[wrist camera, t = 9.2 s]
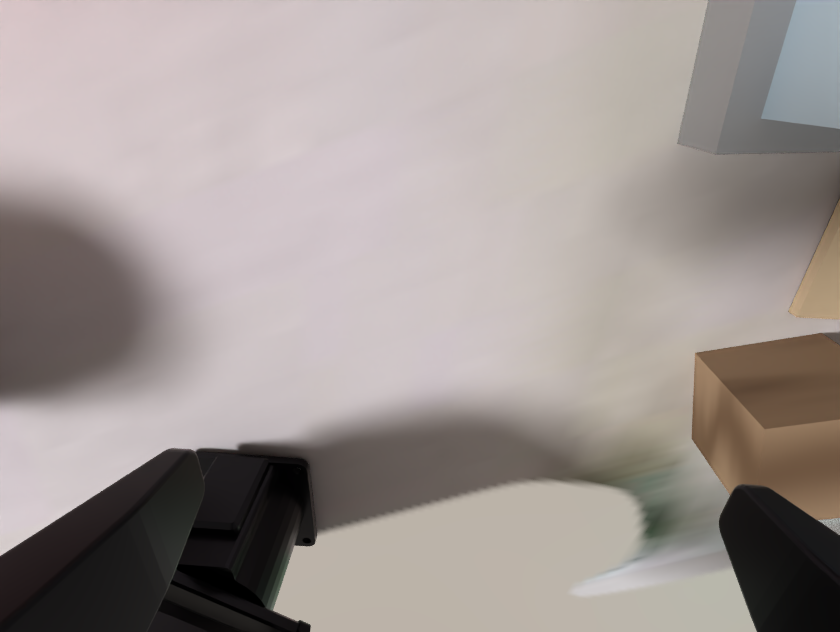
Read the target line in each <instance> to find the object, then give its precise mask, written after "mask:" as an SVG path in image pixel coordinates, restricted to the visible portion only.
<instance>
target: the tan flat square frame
mask: <svg viewBox="0 0 840 632" xmlns="http://www.w3.org/2000/svg"><path fill="white" fill-rule="evenodd" d="M788 312H790V313H791V314H793V315H794V316H796V317H802V318H822V319H840V199H839V201H838V203H837V206H836V208H835V210H834V212H833V214H832V217H831V219H830V221H829V223H828V225H827V228H826V230H825V232H824V234H823V236H822V239H821V241H820V243H819V245H818V248H817V250H816V252H815V254H814V256H813V259H812V261H811V263H810V265H809V267H808V270H807V272H806V274H805V276H804V278H803V281H802V283H801V285H800V287H799V289H798V292H797V294H796V296H795V298H794V300H793V303H792V305H791V307H790V309H789V311H788Z"/></svg>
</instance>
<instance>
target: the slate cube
mask: <svg viewBox="0 0 840 632" xmlns="http://www.w3.org/2000/svg"><path fill="white" fill-rule="evenodd" d="M761 119H768V120H776V121H784V122H791V123H799V124H807V125H814V126H822V127H830V128H837V129H840V0H796V3H795V7H794V10H793V13H792V17H791V20H790V23H789V27H788V30H787V33H786V37H785V40H784V43H783V47H782V50H781V53H780V56H779V60H778V63H777V66H776V70H775V73H774V76H773V80H772V83H771V86H770V90H769V93H768V96H767V100H766V103H765V106H764V110H763V113H762V116H761Z"/></svg>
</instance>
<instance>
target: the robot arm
mask: <svg viewBox="0 0 840 632" xmlns="http://www.w3.org/2000/svg"><path fill="white" fill-rule="evenodd" d="M297 467H298V468H297ZM299 468H300V469H299ZM719 528H720V533H721V536H722V539H723V541H724V544H725V547H726V550H727V552H728V555H729V558H730V561H731V563H732V566H733V569H734V572H735V574H736V577H737V580H738V582H739V585H740V588H741V591H742V594H743V596H744V599H745V602H746V605H747V607H748V610H749V612H750V615H751V618H752V621H753V623H754V626H755V628H756V630H757V632H840V535H838V534H837V533H835V532H834V531H832V530H831V529H829V528H828V527H827V526H825V525H824V524H822V523H821V522H819V521H818V520H816V519H815V518H813V517H812V516H810V515H809V514H807V513H806V512H804V511H803V510H802V509H800V508H799V507H797V506H796V505H794V504H793V503H791V502H790V501H788V500H787V499H785V498H784V497H782V496H781V495H780V494H778V493H777V492H775V491H774V490H772V489H770V488H769V487H766V486H763V485H751V484H739V485H737V486H736V487H735V488H734V489H733V491H732V493H731V495H730V497H729V499H728V501H727V503H726V505H725V507H724V509H723V511H722V513H721V515H720V519H719ZM316 538H317V530H316V521H315V512H314V503H313V494H312V485H311V476H310V467H309V464H308V462H307V461H306V460H304V459H300V458H286V457H271V456H255V455H239V454H223V453H207V452H195V451H194V450H191V449H177V448H171V449H168V450H166V451H164V452H162V453H161V454H159V455H157V456H156V457H154V458H153V459H151V460H150V461H148V462H147V463H145V464H143V465H142V466H140V467H139V468H137V469H136V470H134V471H132V472H131V473H129V474H128V475H126V476H125V477H123V478H122V479H120V480H118V481H117V482H115V483H114V484H112V485H111V486H109V487H107V488H106V489H104V490H103V491H101V492H100V493H98V494H97V495H95V496H93V497H92V498H90V499H89V500H87V501H86V502H84V503H83V504H81V505H79V506H78V507H76V508H75V509H73V510H72V511H70V512H68V513H67V514H65V515H64V516H62V517H61V518H59V519H58V520H56V521H54V522H53V523H51V524H50V525H48V526H47V527H45V528H43V529H42V530H40V531H39V532H37V533H36V534H34V535H33V536H31V537H29V538H28V539H26V540H25V541H23V542H22V543H20V544H18V545H17V546H15V547H14V548H12V549H11V550H9V551H8V552H6V553H4V554H3V555H1V556H0V632H310V627H311V626H310V624H308V623H305V622H303V621H301V620H299V621H298V622H297V621H295V620H292V619H290V618H288V617H286V616H284V615H281V614H279V613H277V612H274V611H273V608H274V605H275V602H276V599H277V596H278V593H279V590H280V587H281V584H282V581H283V578H284V575H285V572H286V569H287V566H288V563H289V560H290V557H291V554H292V551H293V547H294V545H296V546H312V545H314V544H315V541H316Z"/></svg>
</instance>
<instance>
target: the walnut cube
mask: <svg viewBox="0 0 840 632" xmlns="http://www.w3.org/2000/svg"><path fill="white" fill-rule="evenodd" d="M692 440H693V441H694V443H695V444H696V446H697V447H698V449H699V450H700V451H701V453H702V454H703V456H704V457H705V459H706V460H707V462H708V463H709V465H710V466H711V468H712V469H713V471H714V472H715V474H716V475H717V476H718V478H719V479H720V481H721V482H722V484H723V485H724V487H725V488H726V490H727V491H728V493H729V494H730V495H731V493H732V491H733V489H734V488H735V487H736V486H737V485H739V484H751V485H763V486H766V487H769V488H770V489H772V490H774V491H775V492H777V493H778V494H780V495H781V496H782V497H784V498H785V499H787V500H788V501H790V502H791V503H793V504H794V505H796V506H797V507H799V508H800V509H802V510H803V511H804V512H806V513H807V514H809V515H810V516H812V517H813V518H815V519H816V520H823V519H832V518H840V345H838V344H837V343H836V342H834V341H833V340H831V339H830V338H828V337H827V336H825V335H824V334H822V333H819V334H812V335H806V336H799V337H793V338H787V339H780V340H774V341H768V342H761V343H755V344H749V345H742V346H736V347H730V348H723V349H717V350H711V351H704V352H698V353H695V372H694V396H693V420H692Z"/></svg>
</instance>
